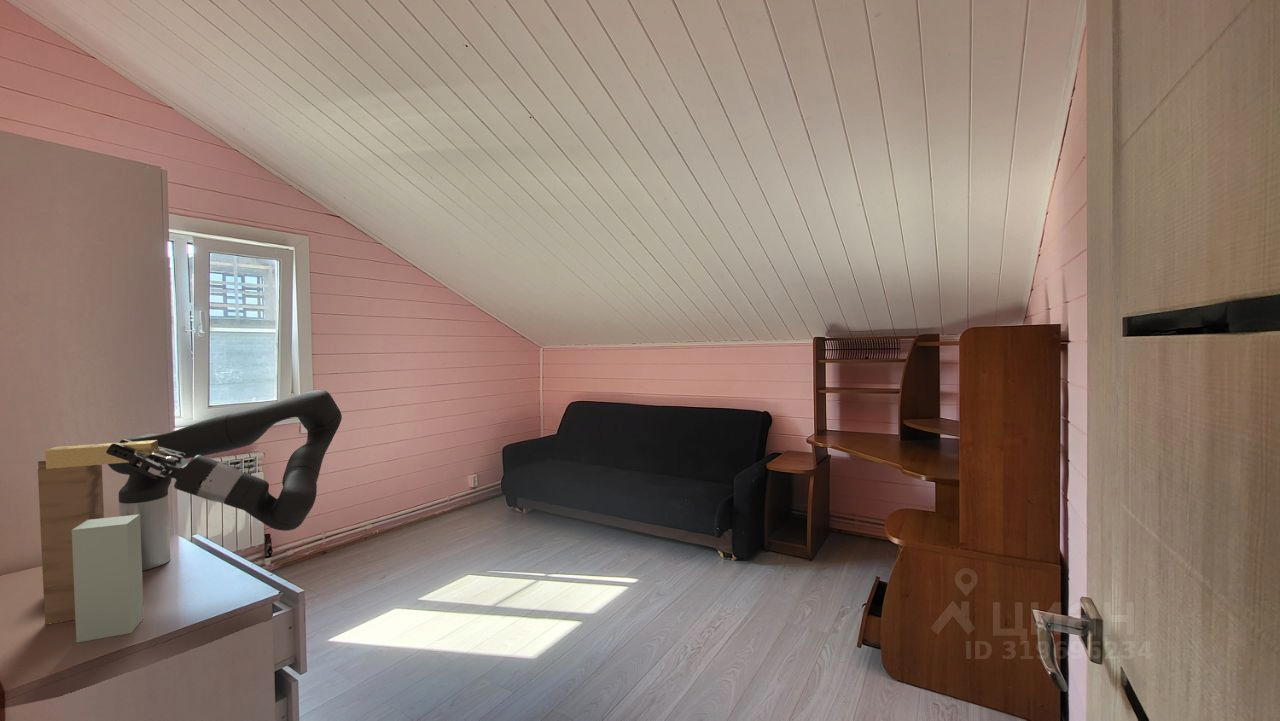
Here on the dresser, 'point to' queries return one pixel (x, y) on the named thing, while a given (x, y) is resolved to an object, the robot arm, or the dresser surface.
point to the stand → (64, 529)
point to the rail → (92, 454)
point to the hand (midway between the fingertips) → (114, 445)
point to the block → (107, 577)
